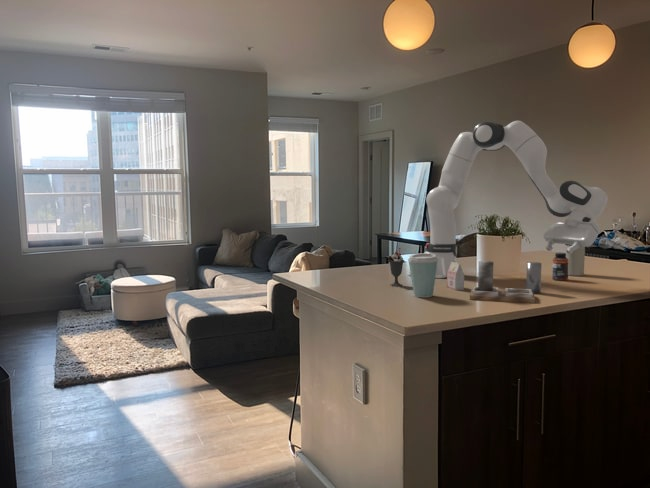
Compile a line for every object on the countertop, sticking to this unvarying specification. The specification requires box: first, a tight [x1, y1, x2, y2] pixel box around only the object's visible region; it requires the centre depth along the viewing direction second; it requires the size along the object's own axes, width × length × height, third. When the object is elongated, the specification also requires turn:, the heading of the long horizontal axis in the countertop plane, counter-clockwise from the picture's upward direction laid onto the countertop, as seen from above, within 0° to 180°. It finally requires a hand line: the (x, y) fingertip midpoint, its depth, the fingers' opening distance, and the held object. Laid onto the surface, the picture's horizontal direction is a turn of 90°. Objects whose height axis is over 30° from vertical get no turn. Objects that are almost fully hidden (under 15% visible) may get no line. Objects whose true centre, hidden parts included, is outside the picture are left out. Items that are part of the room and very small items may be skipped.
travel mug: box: [564, 244, 586, 277], centre depth 229 cm, size 8×8×18 cm
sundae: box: [387, 247, 405, 287], centre depth 209 cm, size 7×7×15 cm
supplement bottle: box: [552, 251, 569, 282], centre depth 217 cm, size 6×6×11 cm
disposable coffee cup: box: [407, 252, 438, 298], centre depth 188 cm, size 11×11×15 cm
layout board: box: [469, 260, 536, 304], centre depth 183 cm, size 21×12×12 cm, turn 71°
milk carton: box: [446, 262, 465, 291], centre depth 202 cm, size 4×7×10 cm, turn 14°
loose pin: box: [525, 261, 542, 295], centre depth 192 cm, size 5×5×11 cm
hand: (557, 250), depth 195 cm, fingers open, 8 cm apart
